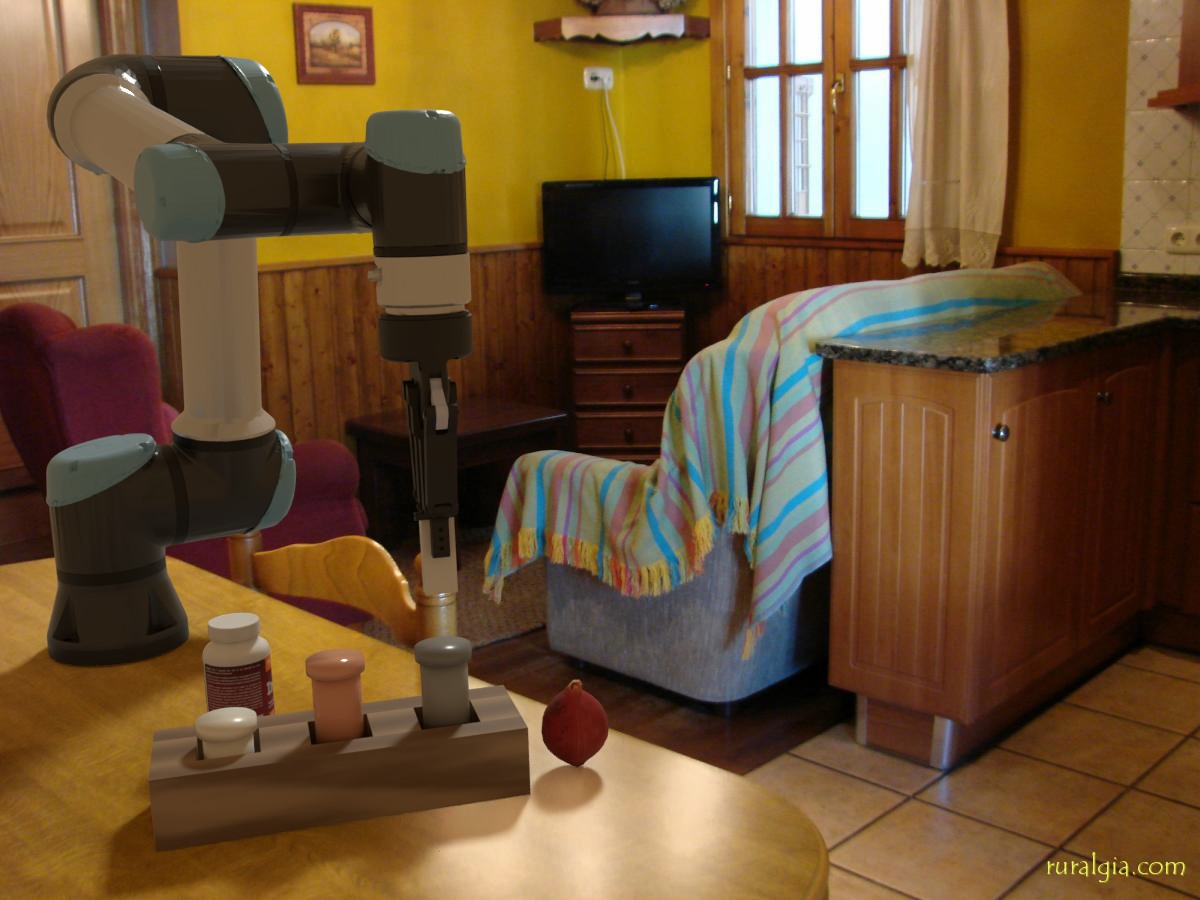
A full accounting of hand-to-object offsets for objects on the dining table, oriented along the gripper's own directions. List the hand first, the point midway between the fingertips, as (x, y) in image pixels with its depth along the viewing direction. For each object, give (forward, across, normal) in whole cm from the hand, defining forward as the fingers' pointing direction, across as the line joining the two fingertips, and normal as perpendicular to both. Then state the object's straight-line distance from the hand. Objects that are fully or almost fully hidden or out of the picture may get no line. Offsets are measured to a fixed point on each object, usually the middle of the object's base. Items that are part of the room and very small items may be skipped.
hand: (440, 590), depth 110 cm
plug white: (+17, 0, -18) cm, 25 cm away
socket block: (+17, 0, -9) cm, 19 cm away
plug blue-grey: (+13, 0, 0) cm, 13 cm away
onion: (+17, +1, +11) cm, 20 cm away
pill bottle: (+17, -17, -17) cm, 30 cm away
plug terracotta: (+13, 0, -9) cm, 16 cm away
